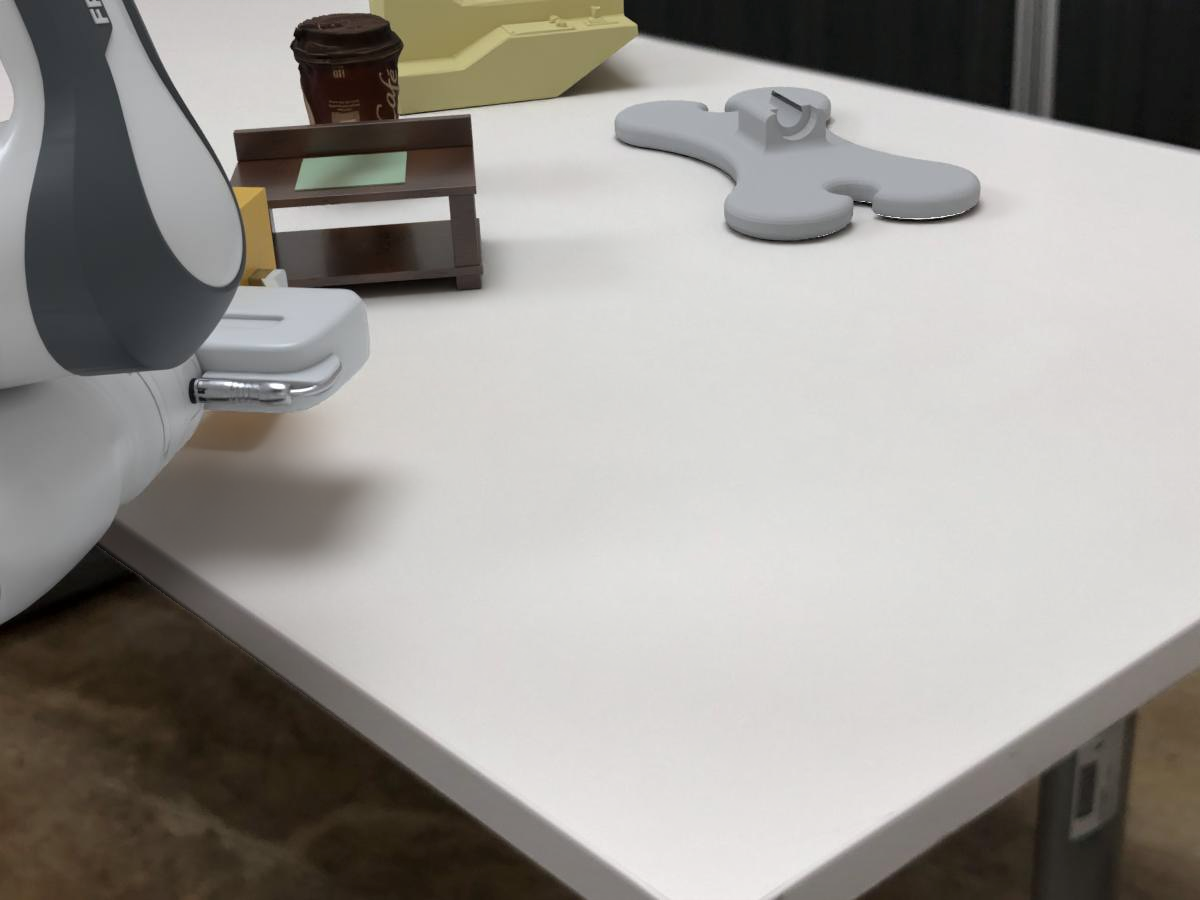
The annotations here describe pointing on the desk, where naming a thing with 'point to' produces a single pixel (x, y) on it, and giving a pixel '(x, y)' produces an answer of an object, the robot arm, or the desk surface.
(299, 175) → the rack
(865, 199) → the holder
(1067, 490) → the desk surface
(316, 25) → the coffee cup
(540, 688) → the desk surface
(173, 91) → the robot arm
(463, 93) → the control panel
